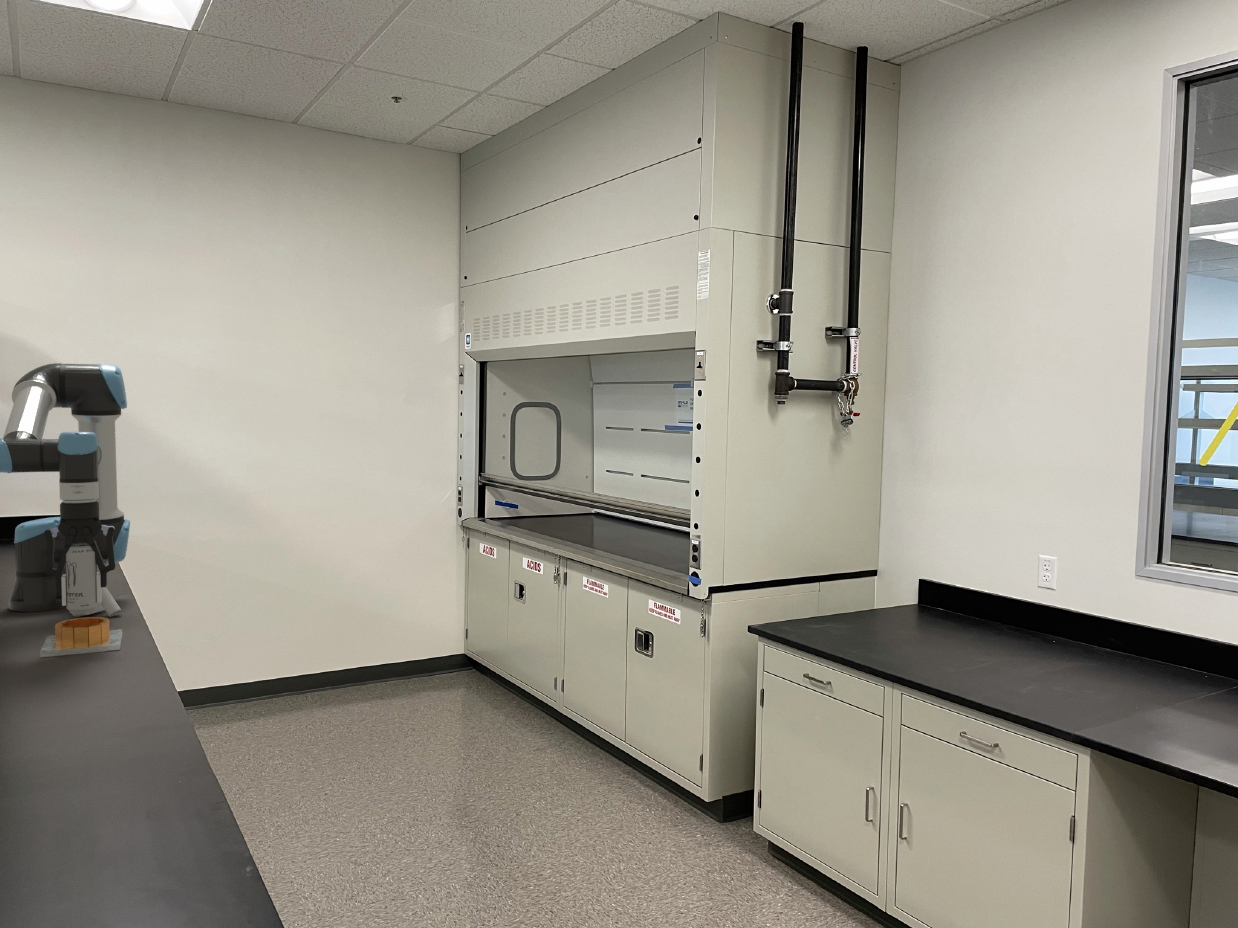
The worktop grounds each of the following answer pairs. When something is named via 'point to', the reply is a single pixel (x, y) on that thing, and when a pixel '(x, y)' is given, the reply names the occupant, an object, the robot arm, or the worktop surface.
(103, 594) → the wall hook
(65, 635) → the keeper
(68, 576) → the energy drink can
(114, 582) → the worktop surface
